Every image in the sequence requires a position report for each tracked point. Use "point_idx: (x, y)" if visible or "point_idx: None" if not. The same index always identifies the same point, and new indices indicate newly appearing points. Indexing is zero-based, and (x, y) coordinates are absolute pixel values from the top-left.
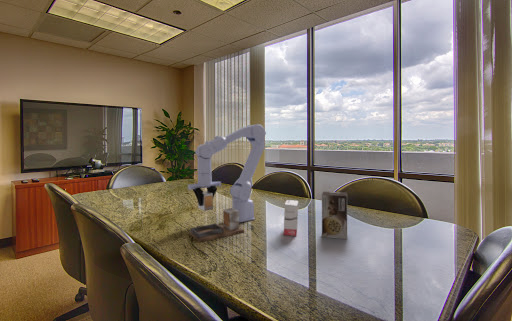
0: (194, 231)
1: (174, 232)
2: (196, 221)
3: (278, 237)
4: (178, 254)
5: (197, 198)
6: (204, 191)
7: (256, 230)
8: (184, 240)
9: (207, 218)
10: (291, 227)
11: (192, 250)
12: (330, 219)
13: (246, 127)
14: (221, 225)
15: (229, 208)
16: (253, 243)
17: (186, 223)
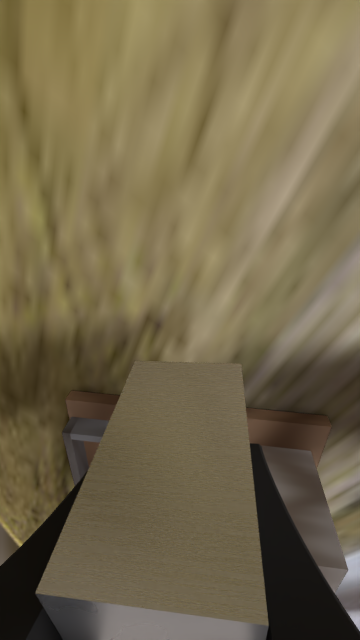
0: (71, 469)
1: (3, 334)
2: (182, 204)
3: (346, 586)
4: (12, 505)
5: (65, 512)
6: (197, 632)
7: (353, 522)
8: (40, 441)
9: (307, 174)
10: None
11: (54, 509)
12: None
13: None
14: (251, 431)
15: (323, 566)
16: None
17: (95, 207)
